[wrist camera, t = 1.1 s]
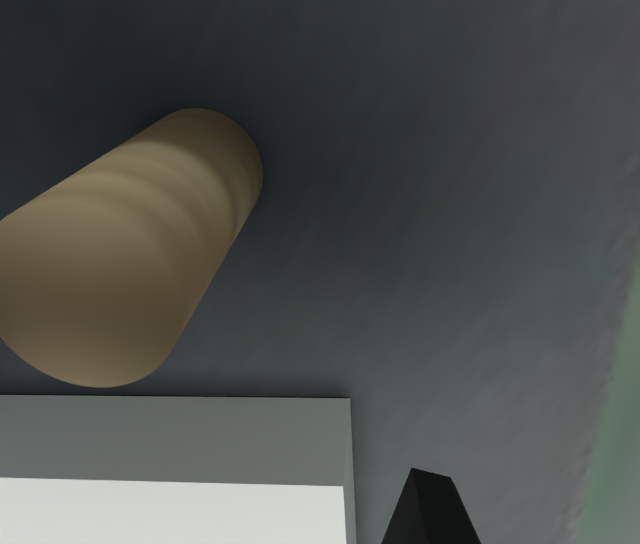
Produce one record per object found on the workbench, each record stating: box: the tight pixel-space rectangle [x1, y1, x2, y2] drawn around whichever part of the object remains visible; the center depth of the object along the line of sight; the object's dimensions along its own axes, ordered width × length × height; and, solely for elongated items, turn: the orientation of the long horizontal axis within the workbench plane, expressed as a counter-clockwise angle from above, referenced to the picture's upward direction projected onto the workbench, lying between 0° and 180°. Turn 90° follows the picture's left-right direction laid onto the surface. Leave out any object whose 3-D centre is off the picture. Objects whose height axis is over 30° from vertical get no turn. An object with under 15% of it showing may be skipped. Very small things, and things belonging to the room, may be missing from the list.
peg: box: [0, 108, 263, 388], centre depth 14 cm, size 4×4×8 cm
